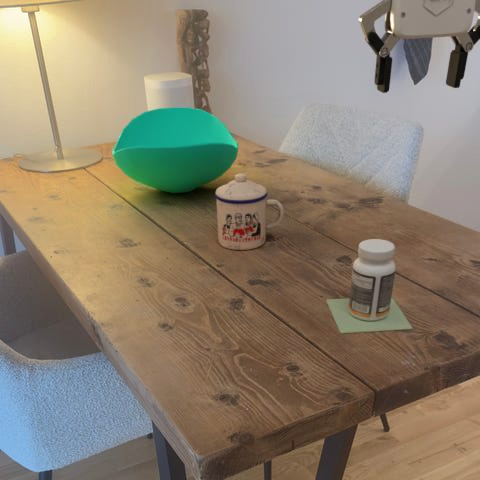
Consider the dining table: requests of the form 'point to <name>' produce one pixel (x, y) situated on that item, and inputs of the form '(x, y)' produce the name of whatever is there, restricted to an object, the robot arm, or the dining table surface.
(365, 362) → the dining table surface
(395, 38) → the robot arm
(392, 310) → the mat
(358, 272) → the pill bottle
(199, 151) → the table top decor
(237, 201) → the teacup with lid
